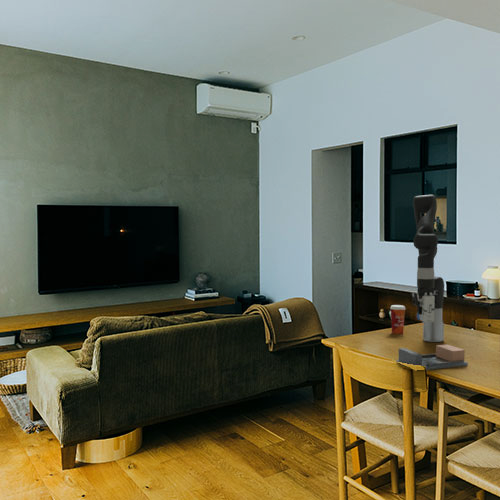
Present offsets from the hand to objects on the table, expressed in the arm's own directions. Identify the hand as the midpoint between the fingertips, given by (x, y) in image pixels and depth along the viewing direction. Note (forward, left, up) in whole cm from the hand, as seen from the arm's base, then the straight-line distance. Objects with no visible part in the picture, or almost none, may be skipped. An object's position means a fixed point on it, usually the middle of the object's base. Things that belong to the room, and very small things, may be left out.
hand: (425, 313), depth 237 cm
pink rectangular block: (-2, +14, -18) cm, 23 cm away
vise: (+7, +14, -19) cm, 25 cm away
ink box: (0, 0, -3) cm, 3 cm away
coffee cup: (-16, -45, -19) cm, 52 cm away
